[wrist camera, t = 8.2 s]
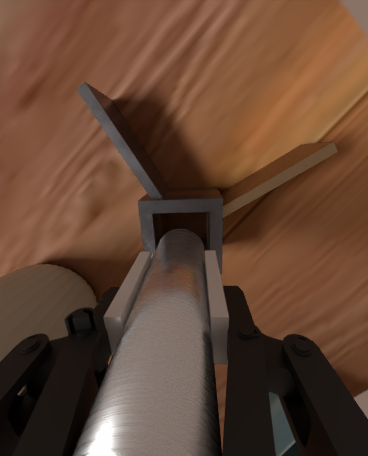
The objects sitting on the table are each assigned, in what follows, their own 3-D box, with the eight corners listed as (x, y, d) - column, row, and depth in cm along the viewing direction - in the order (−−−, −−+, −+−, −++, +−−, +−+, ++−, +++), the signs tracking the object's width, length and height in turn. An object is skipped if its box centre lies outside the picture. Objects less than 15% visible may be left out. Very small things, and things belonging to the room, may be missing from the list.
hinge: (126, 248, 29) (106, 275, 23) (104, 100, 23) (68, 78, 17) (291, 244, 28) (322, 272, 21) (313, 86, 22) (364, 57, 15)
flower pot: (326, 378, 36) (368, 448, 27) (296, 408, 38) (325, 480, 30) (281, 360, 35) (310, 427, 26) (254, 392, 38) (272, 461, 29)
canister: (-22, 281, 32) (-364, 482, 13) (58, 219, 28) (-262, 370, 8) (61, 355, 37) (-94, 590, 17) (141, 311, 33) (58, 551, 13)
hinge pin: (160, 270, 19) (80, 531, 6) (156, 229, 18) (42, 446, 5) (204, 269, 19) (225, 541, 6) (203, 228, 17) (228, 453, 4)
